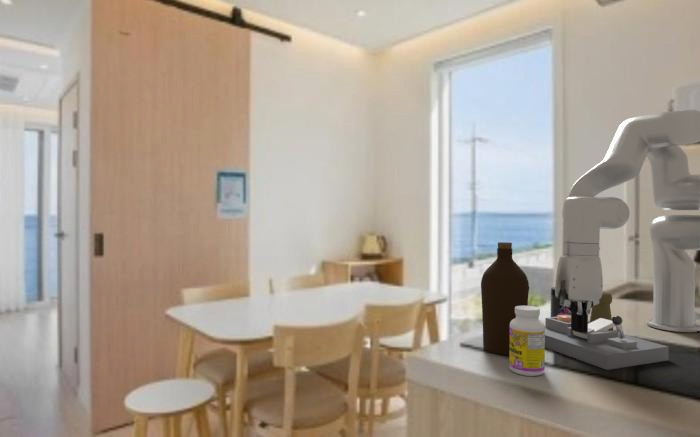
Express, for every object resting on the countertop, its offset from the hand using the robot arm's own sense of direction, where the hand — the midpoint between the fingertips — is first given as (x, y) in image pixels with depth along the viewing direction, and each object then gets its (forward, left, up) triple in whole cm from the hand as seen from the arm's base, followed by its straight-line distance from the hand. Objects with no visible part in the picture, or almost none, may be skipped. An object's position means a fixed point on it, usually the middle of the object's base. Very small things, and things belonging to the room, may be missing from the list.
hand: (579, 330), depth 106 cm
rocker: (-5, 0, 0) cm, 5 cm away
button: (-5, -8, -2) cm, 9 cm away
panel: (-5, -1, -5) cm, 7 cm away
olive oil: (+14, -8, -5) cm, 17 cm away
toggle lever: (-5, +7, 0) cm, 8 cm away
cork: (-21, -12, -5) cm, 25 cm away
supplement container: (-18, -22, -5) cm, 29 cm away
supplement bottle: (+20, +6, -5) cm, 22 cm away
